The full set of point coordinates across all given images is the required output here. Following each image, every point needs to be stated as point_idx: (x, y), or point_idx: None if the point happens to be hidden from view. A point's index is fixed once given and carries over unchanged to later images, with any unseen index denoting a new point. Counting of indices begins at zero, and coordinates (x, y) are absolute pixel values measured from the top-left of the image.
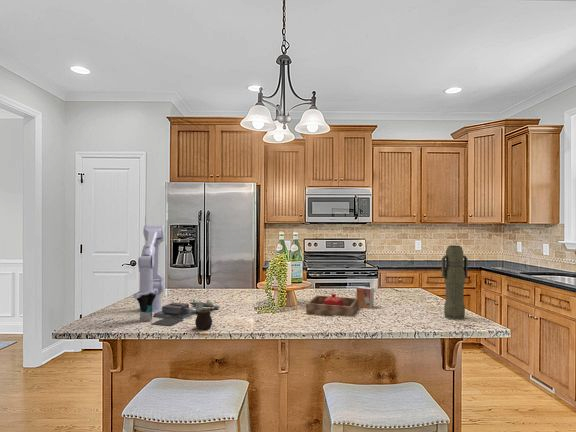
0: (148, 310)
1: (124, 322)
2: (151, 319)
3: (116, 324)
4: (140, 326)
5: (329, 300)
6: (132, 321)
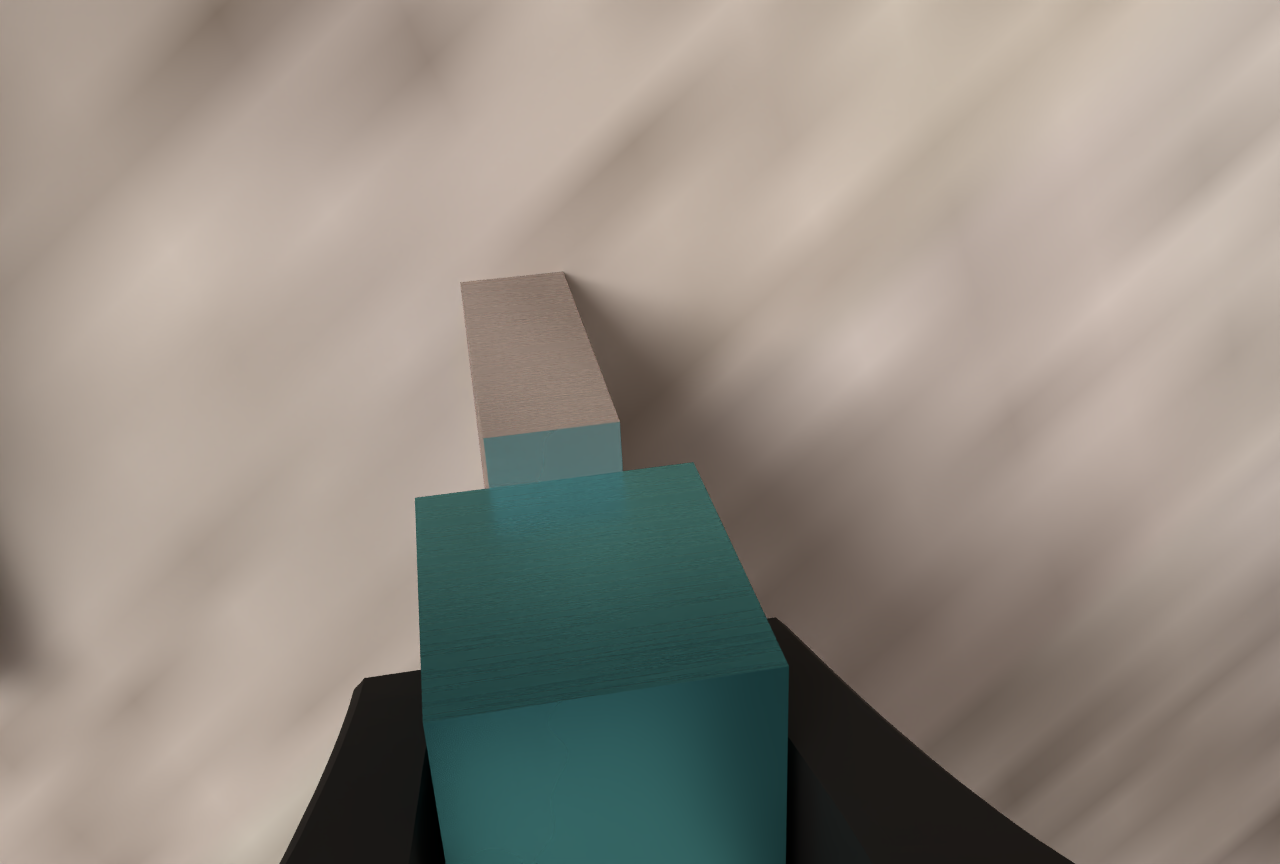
0: (724, 536)
1: None
2: (505, 300)
3: (1150, 826)
4: (1224, 100)
5: None
6: None
